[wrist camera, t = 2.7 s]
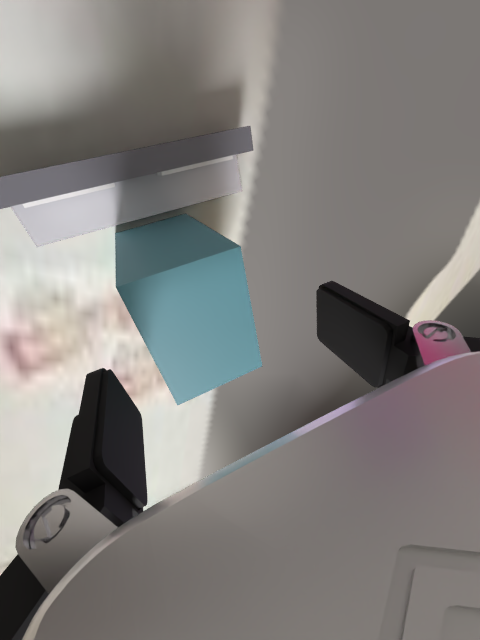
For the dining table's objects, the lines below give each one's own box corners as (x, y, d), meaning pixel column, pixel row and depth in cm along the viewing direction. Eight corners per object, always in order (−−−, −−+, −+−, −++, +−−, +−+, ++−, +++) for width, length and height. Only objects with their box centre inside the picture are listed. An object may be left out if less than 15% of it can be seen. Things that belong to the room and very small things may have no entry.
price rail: (-5, 181, 14) (-30, 182, 11) (231, 132, 17) (250, 125, 14) (37, 245, 16) (24, 259, 13) (240, 190, 19) (258, 193, 16)
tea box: (153, 317, 21) (177, 405, 13) (115, 233, 17) (115, 287, 9) (211, 295, 22) (264, 365, 14) (187, 213, 18) (243, 245, 10)
